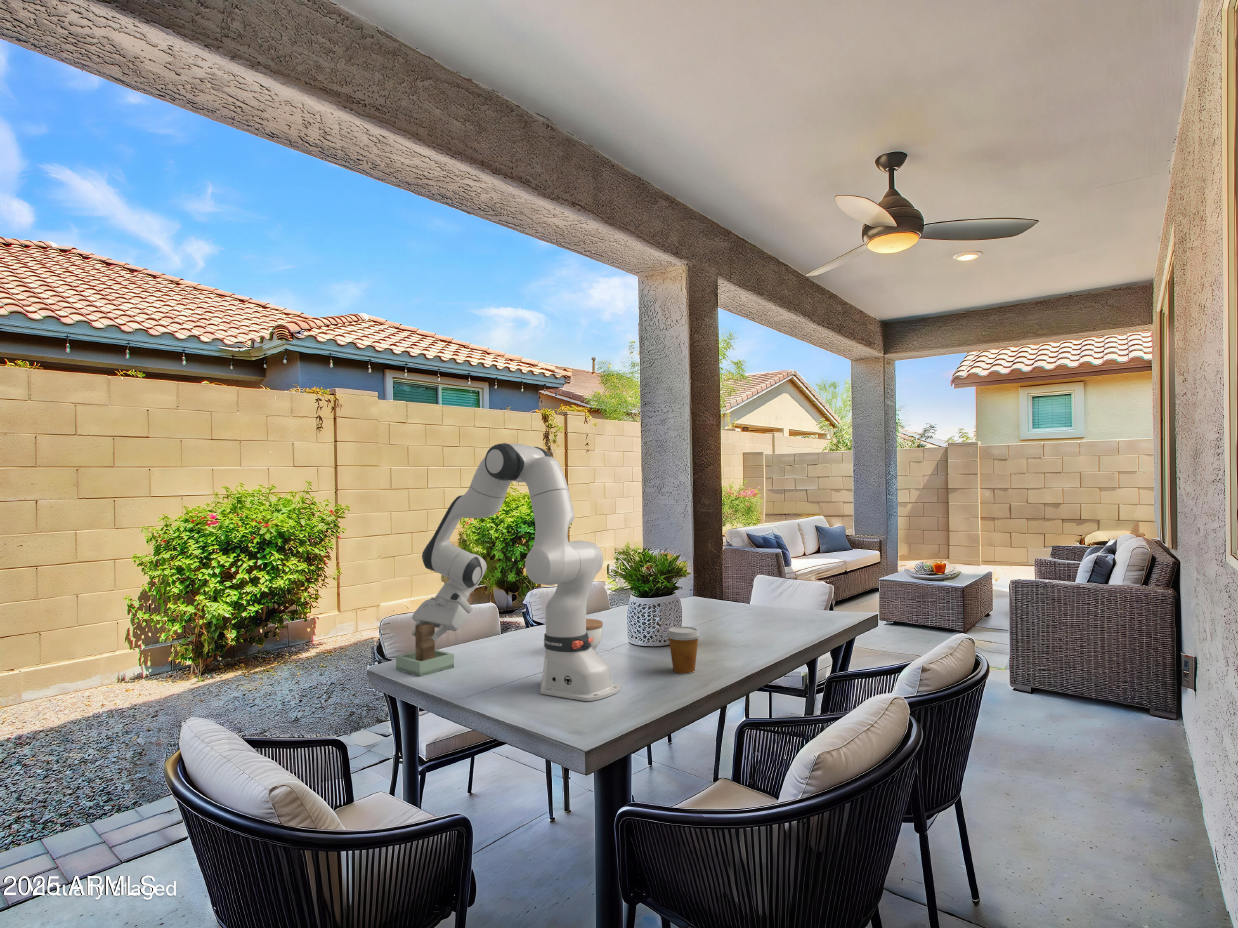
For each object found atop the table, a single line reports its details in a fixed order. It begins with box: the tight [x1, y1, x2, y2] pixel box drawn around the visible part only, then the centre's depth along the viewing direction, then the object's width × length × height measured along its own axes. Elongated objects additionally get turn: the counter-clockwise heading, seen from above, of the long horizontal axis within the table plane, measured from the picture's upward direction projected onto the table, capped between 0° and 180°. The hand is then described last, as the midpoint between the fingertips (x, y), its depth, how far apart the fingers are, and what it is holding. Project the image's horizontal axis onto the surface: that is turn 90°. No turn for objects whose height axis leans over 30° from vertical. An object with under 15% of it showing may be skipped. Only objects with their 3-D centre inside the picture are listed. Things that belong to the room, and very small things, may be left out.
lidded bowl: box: [586, 618, 604, 651], centre depth 216 cm, size 13×13×11 cm
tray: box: [395, 649, 455, 677], centre depth 196 cm, size 12×12×4 cm
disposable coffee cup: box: [666, 626, 701, 674], centre depth 190 cm, size 10×10×12 cm
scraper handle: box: [414, 623, 436, 661], centre depth 196 cm, size 6×4×12 cm, turn 51°
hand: (423, 637), depth 195 cm, fingers open, 8 cm apart
